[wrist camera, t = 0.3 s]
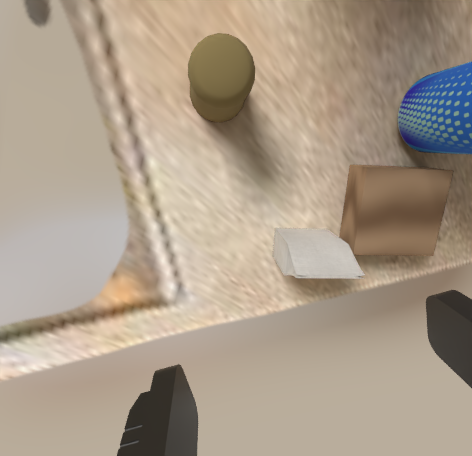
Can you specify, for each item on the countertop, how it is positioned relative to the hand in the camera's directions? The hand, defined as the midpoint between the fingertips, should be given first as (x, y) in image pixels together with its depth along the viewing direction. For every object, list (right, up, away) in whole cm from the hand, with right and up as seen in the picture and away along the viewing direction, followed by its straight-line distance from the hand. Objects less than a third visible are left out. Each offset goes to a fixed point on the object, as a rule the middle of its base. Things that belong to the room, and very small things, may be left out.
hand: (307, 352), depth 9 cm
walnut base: (+16, +7, +28) cm, 33 cm away
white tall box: (+6, +2, +28) cm, 29 cm away
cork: (-4, +19, +23) cm, 30 cm away
